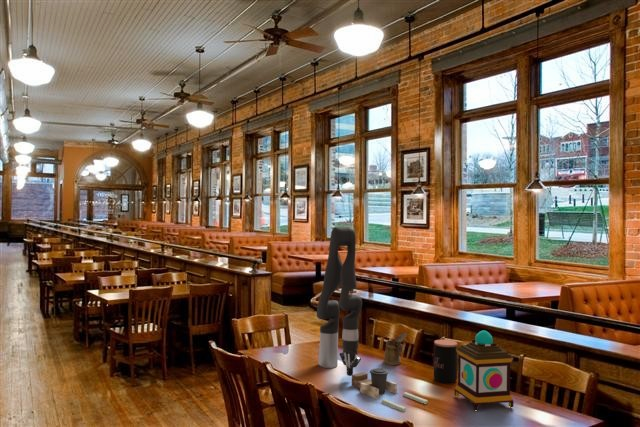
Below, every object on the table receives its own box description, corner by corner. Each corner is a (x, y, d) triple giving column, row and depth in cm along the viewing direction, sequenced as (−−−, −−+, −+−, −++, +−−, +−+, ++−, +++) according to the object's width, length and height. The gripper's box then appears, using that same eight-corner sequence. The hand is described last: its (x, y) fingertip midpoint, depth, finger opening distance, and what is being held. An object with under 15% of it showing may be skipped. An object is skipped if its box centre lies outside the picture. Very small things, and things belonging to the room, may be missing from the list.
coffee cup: (387, 389, 223) (388, 367, 223) (388, 396, 215) (388, 372, 215) (369, 388, 224) (369, 366, 224) (369, 395, 216) (369, 372, 216)
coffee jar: (430, 377, 242) (431, 339, 242) (452, 376, 243) (452, 339, 243) (437, 384, 231) (438, 345, 231) (460, 384, 232) (460, 345, 232)
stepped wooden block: (360, 392, 219) (360, 383, 219) (380, 386, 227) (380, 377, 227) (376, 399, 212) (376, 389, 212) (397, 392, 219) (397, 383, 219)
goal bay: (381, 402, 208) (381, 399, 208) (405, 394, 217) (405, 392, 217) (403, 411, 198) (403, 408, 198) (427, 403, 207) (427, 400, 207)
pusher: (351, 385, 228) (351, 374, 228) (362, 382, 232) (363, 372, 232) (365, 390, 221) (365, 380, 221) (377, 387, 225) (377, 377, 225)
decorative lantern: (449, 395, 217) (450, 326, 217) (491, 392, 221) (492, 324, 222) (474, 413, 198) (475, 337, 198) (518, 410, 202) (519, 335, 202)
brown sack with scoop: (397, 368, 254) (398, 333, 254) (379, 362, 265) (380, 327, 265) (410, 366, 259) (411, 331, 259) (392, 359, 270) (392, 326, 270)
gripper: (334, 336, 237) (334, 373, 237) (353, 342, 227) (353, 380, 227) (346, 334, 242) (346, 370, 242) (365, 339, 231) (365, 377, 231)
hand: (349, 375), depth 234 cm, fingers closed
